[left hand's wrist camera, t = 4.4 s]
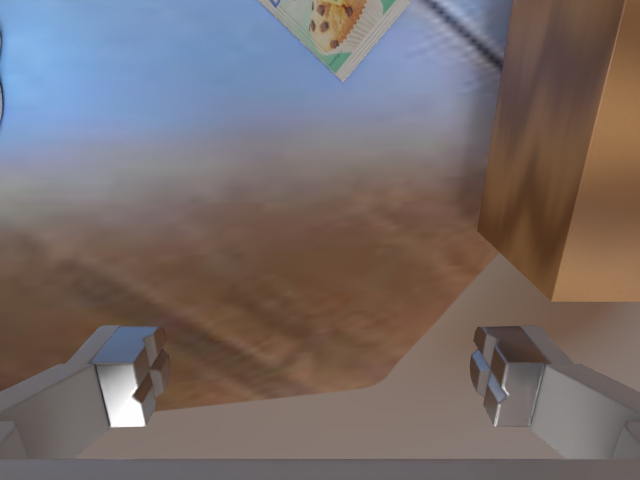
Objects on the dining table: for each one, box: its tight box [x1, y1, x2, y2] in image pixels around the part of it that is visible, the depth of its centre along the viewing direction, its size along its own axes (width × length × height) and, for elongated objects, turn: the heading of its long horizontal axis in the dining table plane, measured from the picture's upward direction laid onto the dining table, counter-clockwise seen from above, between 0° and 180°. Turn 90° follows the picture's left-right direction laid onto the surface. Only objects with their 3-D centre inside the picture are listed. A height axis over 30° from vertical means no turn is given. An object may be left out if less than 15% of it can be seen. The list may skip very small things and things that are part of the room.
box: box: [477, 0, 640, 302], centre depth 26 cm, size 26×6×13 cm, turn 0°
